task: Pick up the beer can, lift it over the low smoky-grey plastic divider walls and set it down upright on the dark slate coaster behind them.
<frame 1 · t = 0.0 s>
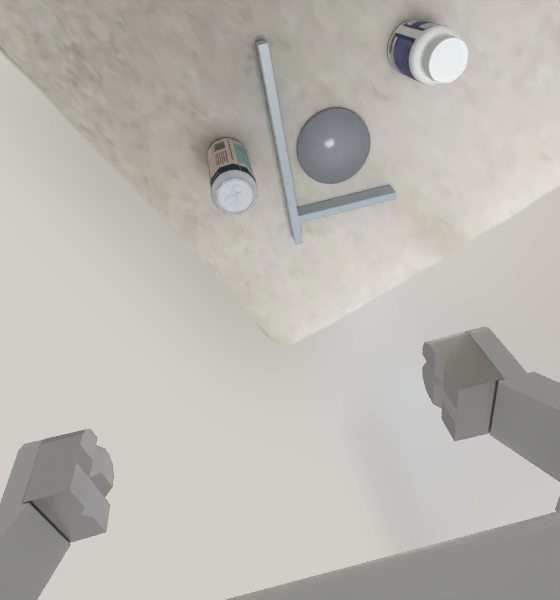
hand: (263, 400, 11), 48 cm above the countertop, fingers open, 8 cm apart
coaster: (332, 145, 57), on the countertop
divider wall: (280, 150, 56), on the countertop
beer can: (226, 156, 56), on the countertop
pill bottle: (408, 46, 52), on the countertop
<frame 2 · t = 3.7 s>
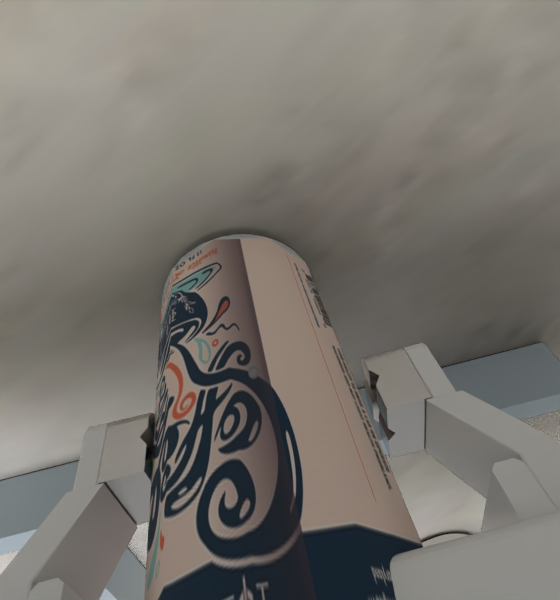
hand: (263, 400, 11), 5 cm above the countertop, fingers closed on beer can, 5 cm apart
divider wall: (257, 423, 19), on the countertop
beer can: (238, 289, 15), on the countertop, touching gripper
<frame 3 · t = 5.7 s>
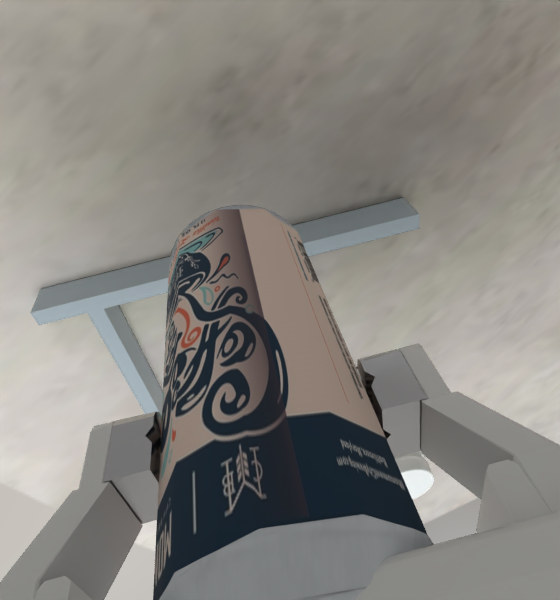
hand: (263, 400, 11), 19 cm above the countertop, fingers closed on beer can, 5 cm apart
divider wall: (226, 249, 30), on the countertop
beer can: (237, 258, 17), point 12 cm above the countertop, touching gripper
pill bottle: (362, 384, 40), on the countertop
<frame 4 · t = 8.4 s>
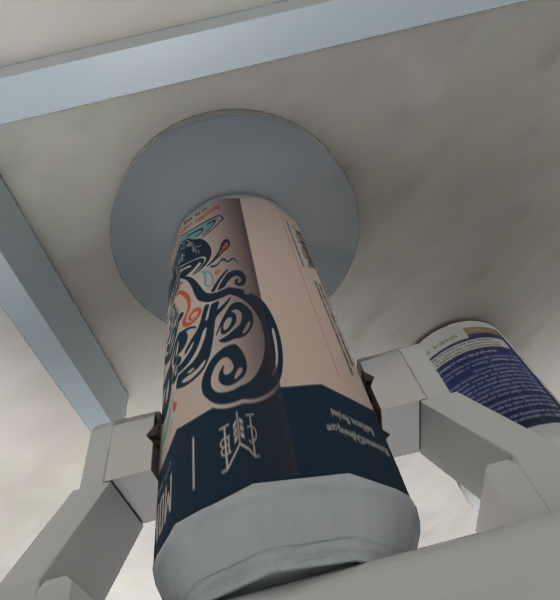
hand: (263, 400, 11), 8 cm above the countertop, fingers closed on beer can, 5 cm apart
coaster: (237, 232, 18), on the countertop
divider wall: (219, 36, 14), on the countertop
beer can: (237, 247, 17), point 1 cm above the countertop, touching coaster, gripper
pill bottle: (449, 354, 24), on the countertop
when the fingers open (7 cm above the countertop, at t = 9.5 s): beer can stays where it is, resting on coaster.
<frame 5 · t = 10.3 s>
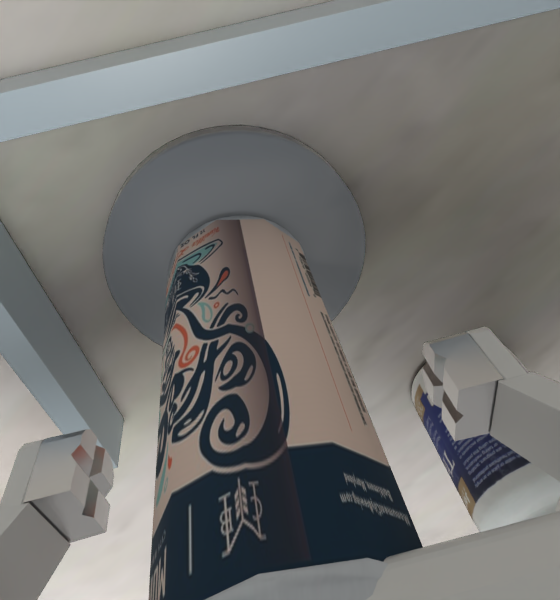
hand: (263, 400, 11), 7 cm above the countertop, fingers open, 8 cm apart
coaster: (237, 252, 17), on the countertop
divider wall: (217, 49, 13), on the countertop
beer can: (237, 268, 16), point 1 cm above the countertop, touching coaster
pill bottle: (457, 373, 23), on the countertop
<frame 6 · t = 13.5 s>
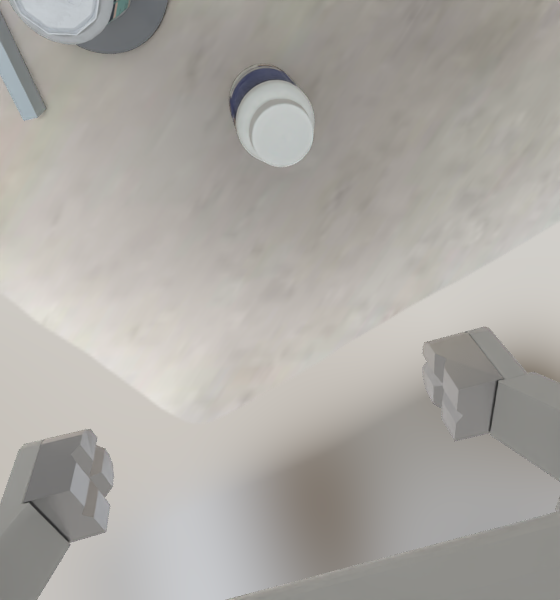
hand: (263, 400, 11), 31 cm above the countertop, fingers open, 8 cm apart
pill bottle: (261, 99, 37), on the countertop
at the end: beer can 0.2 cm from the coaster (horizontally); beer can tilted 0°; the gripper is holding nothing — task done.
